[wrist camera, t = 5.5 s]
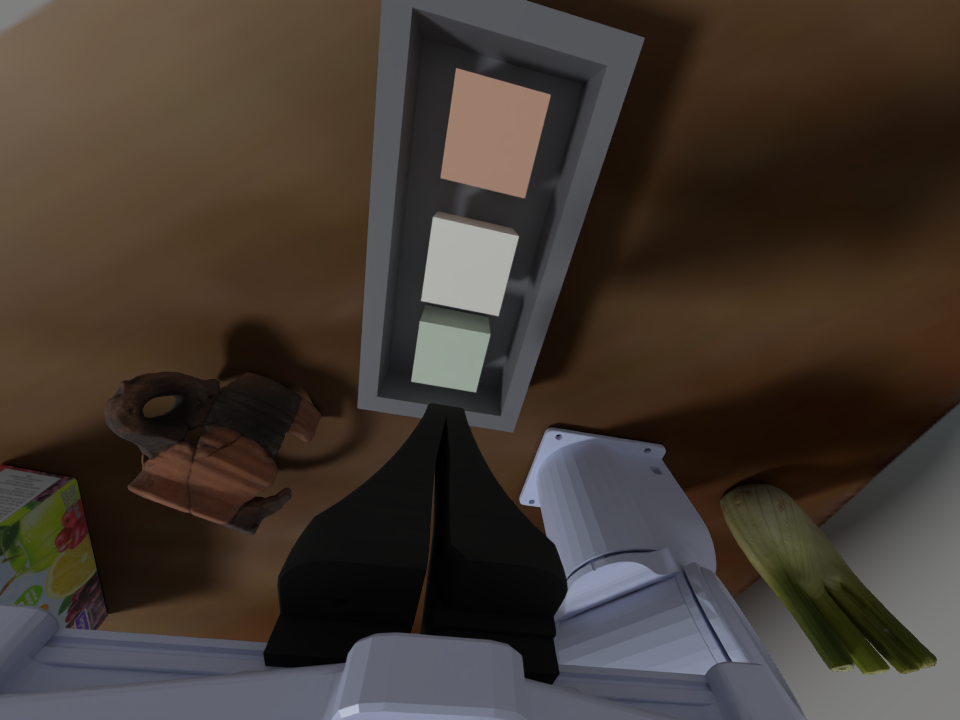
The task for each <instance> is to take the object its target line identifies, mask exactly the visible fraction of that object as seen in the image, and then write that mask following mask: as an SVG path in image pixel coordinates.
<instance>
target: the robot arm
mask: <svg viewBox="0 0 960 720" xmlns="http://www.w3.org/2000/svg"><path fill="white" fill-rule="evenodd" d="M558 434H561V435H560V436H556V435H558ZM647 448H648V449H647ZM645 449H646V450H645ZM665 453H666V449H665V448H664V446H663V445H660V444H654V443H647V442H641V441H635V440H628V439H622V438H616V437H609V436H603V435H597V434H590V433H584V432H578V431H572V430H565V429H559V428H548V429H547V430H546V431H545V433H544V436H543V438H542V441H541V443H540V446H539V448H538V451H537V454H536V456H535V459H534V461H533V464H532V466H531V469H530V472H529V474H528V477H527V479H526V482H525V484H524V487H523V490H522V492H521V495H520V498H519V499H520V503H521V504H523V505H529V506H537V507H541V512H542V516H543V521H544V526H545V531H546V535H547V537H546V536H545V535H544V534H543V533H542V532H541V531H540V530H539V529H538V528H537V527H535V526H534V525H533V524H532V523H531V522H530V521H529V519H528V518H527V517H526V516H525V515H524V514H523V513H522V512H521V511H520V510H519V509H518V507H517V506H516V505H515V504H514V503H513V501H512V500H511V499H510V498H509V497H508V495H507V494H506V493H505V491H504V490H503V488H502V487H501V486H500V484H499V483H498V481H497V480H496V478H495V477H494V475H493V474H492V472H491V470H490V469H489V467H488V465H487V464H486V462H485V460H484V458H483V456H482V454H481V452H480V450H479V448H478V446H477V444H476V441H475V439H474V437H473V434H472V432H471V429H470V427H469V424H468V421H467V418H466V414H465V411H464V409H463V408H460V407H454V406H448V405H441V404H435V403H430V404H428V406H427V409H426V411H425V413H424V415H423V417H422V419H421V420H420V422H419V424H418V425H417V427H416V428H415V430H414V431H413V432H412V434H411V435H410V437H409V438H408V439H407V440H406V442H405V443H404V444H403V445H402V447H401V448H400V449H399V450H398V451H397V452H396V454H395V455H394V456H393V457H392V458H391V459H390V460H389V461H388V462H387V463H386V464H385V465H384V466H383V467H382V468H381V469H380V470H379V471H377V472H376V473H375V474H374V475H373V476H372V477H371V478H370V479H368V480H367V481H366V482H365V483H364V484H362V485H361V486H360V487H358V488H357V489H356V490H354V491H353V492H352V493H350V494H349V495H348V496H346V497H345V498H344V499H342V500H341V501H339V502H338V503H336V504H334V505H333V506H331V507H330V508H328V509H326V510H325V511H323V512H322V513H320V514H318V515H317V516H315V517H314V518H313V519H312V521H311V522H310V523H309V525H308V526H307V527H306V529H305V530H304V531H303V533H302V534H301V536H300V537H299V539H298V540H297V542H296V543H295V545H294V547H293V548H292V550H291V552H290V553H289V555H288V558H287V560H286V562H285V564H284V566H283V568H282V570H281V572H280V574H279V577H278V584H277V586H278V595H279V605H280V616H279V618H278V620H277V622H276V625H275V627H274V629H273V632H272V634H271V636H270V638H269V641H268V643H263V642H249V641H236V640H222V639H208V638H195V637H181V636H168V635H154V634H140V633H127V632H113V631H100V630H86V629H72V628H59V625H58V622H57V619H56V618H55V616H54V615H53V614H52V613H51V612H50V611H48V610H45V609H43V608H40V607H35V606H27V605H15V604H2V603H0V720H807V719H806V718H805V715H804V713H803V711H802V709H801V707H800V705H799V704H798V702H797V700H796V698H795V696H794V695H793V693H792V691H791V690H790V688H789V686H788V684H787V683H786V681H785V679H784V678H783V676H782V674H781V673H780V671H779V669H778V668H777V666H776V664H775V663H774V661H773V660H772V658H771V656H770V655H769V653H768V652H767V650H766V648H765V647H764V645H763V644H762V642H761V640H760V639H759V637H758V636H757V634H756V633H755V631H754V630H753V628H752V626H751V625H750V623H749V622H748V620H747V619H746V617H745V616H744V614H743V613H742V611H741V610H740V608H739V607H738V605H737V604H736V602H735V601H734V599H733V598H732V596H731V595H730V593H729V592H728V590H727V589H726V588H725V586H724V585H723V583H722V582H721V581H720V579H719V578H718V577H717V575H716V574H715V572H716V556H715V551H714V546H713V542H712V539H711V536H710V533H709V531H708V529H707V527H706V525H705V523H704V522H703V520H702V519H701V517H700V516H699V514H698V513H697V511H696V510H695V508H694V507H693V505H692V504H691V502H690V501H689V499H688V498H687V496H686V495H685V493H684V492H683V490H682V489H681V487H680V486H679V484H678V483H677V481H676V480H675V478H674V477H673V475H672V474H671V472H670V471H669V469H668V468H667V466H666V465H665V463H664V462H663V460H662V458H663V456H664V455H665ZM434 474H435V491H434V524H433V537H432V545H431V553H430V561H429V569H428V577H427V585H426V593H425V600H424V608H423V616H422V623H421V631H420V634H410V633H411V629H412V626H413V624H414V619H415V615H416V611H417V607H418V603H419V599H420V594H421V590H422V586H423V582H424V578H425V574H426V569H427V562H428V553H429V543H430V524H431V509H432V496H433V485H434Z"/></svg>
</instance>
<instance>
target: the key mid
mask: <svg viewBox="0 0 960 720" xmlns="http://www.w3.org/2000/svg"><path fill="white" fill-rule="evenodd" d="M518 238H519V236H518V234H517V233H516V232H515V231H514V229H513V228H509V227H505V226H500V225H496V224H492V223H487V222H483V221H478V220H474V219H470V218H465V217H461V216H457V215H452V214H448V213H444V212H439V211H438V212H437V213H436V214H435V215H434V216H433V220H432V227H431V234H430V241H429V248H428V255H427V262H426V269H425V276H424V284H423V291H422V298H421V301H424V302H429V303H434V304H439V305H444V306H449V307H454V308H460V309H465V310H470V311H475V312H480V313H485V314H490V315H495V316H499V312H500V309H501V305H502V301H503V297H504V293H505V289H506V285H507V281H508V277H509V273H510V270H511V266H512V262H513V258H514V254H515V250H516V246H517V242H518Z"/></svg>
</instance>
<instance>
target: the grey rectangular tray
mask: <svg viewBox="0 0 960 720" xmlns="http://www.w3.org/2000/svg"><path fill="white" fill-rule="evenodd" d="M644 39H645V38H644V37H641V36H638V35H635V34H631V33H628V32H625V31H622V30H619V29H616V28H612V27H609V26H606V25H603V24H600V23H596V22H593V21H590V20H587V19H584V18H581V17H577V16H574V15H571V14H568V13H565V12H562V11H558V10H555V9H552V8H549V7H546V6H542V5H539V4H536V3H533V2H530V1H527V0H382V7H381V24H380V40H379V57H378V74H377V90H376V107H375V124H374V140H373V157H372V174H371V190H370V207H369V224H368V240H367V257H366V274H365V290H364V307H363V324H362V340H361V357H360V374H359V390H358V407H357V408H359V409H365V410H371V411H378V412H384V413H391V414H397V415H404V416H410V417H417V418H422V417H423V415H424V413H425V411H426V409H427V406H428V404H430V403H435V404H441V405H448V406H454V407H460V408H463V409H464V411H465V414H466V418H467V421H468V424H469V426H475V427H481V428H488V429H494V430H501V431H507V432H513V431H514V428H515V425H516V422H517V419H518V416H519V413H520V410H521V407H522V404H523V401H524V398H525V395H526V392H527V389H528V386H529V383H530V380H531V377H532V374H533V371H534V368H535V365H536V362H537V359H538V356H539V353H540V350H541V347H542V344H543V341H544V338H545V336H546V333H547V330H548V327H549V324H550V321H551V318H552V315H553V312H554V309H555V306H556V303H557V300H558V297H559V294H560V291H561V288H562V285H563V282H564V279H565V276H566V273H567V270H568V267H569V264H570V261H571V258H572V255H573V252H574V249H575V246H576V243H577V240H578V237H579V234H580V231H581V228H582V225H583V222H584V219H585V216H586V213H587V210H588V207H589V204H590V201H591V198H592V195H593V192H594V189H595V186H596V183H597V180H598V177H599V174H600V171H601V168H602V165H603V162H604V159H605V156H606V153H607V150H608V147H609V144H610V141H611V138H612V135H613V132H614V129H615V126H616V123H617V120H618V117H619V114H620V111H621V108H622V105H623V102H624V99H625V96H626V93H627V90H628V87H629V84H630V81H631V78H632V75H633V72H634V69H635V66H636V63H637V60H638V57H639V54H640V51H641V48H642V45H643V42H644ZM456 68H458V69H461V70H465V71H468V72H472V73H476V74H479V75H483V76H486V77H490V78H493V79H497V80H500V81H504V82H507V83H511V84H514V85H518V86H522V87H525V88H529V89H532V90H536V91H539V92H543V93H546V94H550V95H551V97H550V100H549V104H548V108H547V112H546V116H545V120H544V124H543V128H542V132H541V136H540V140H539V144H538V148H537V152H536V156H535V160H534V164H533V168H532V172H531V176H530V180H529V184H528V188H527V192H526V196H525V198H521V197H516V196H512V195H508V194H504V193H500V192H496V191H492V190H488V189H483V188H479V187H475V186H471V185H467V184H463V183H459V182H454V181H450V180H446V179H442V178H440V177H441V170H442V163H443V156H444V149H445V142H446V135H447V128H448V121H449V114H450V107H451V100H452V93H453V87H454V80H455V73H456ZM438 211H439V212H444V213H448V214H452V215H457V216H461V217H465V218H470V219H474V220H478V221H483V222H487V223H492V224H496V225H500V226H505V227H509V228H513V229H514V231H515V232H516V233H517V234H518V236H519V238H518V242H517V246H516V250H515V254H514V258H513V262H512V266H511V270H510V273H509V277H508V281H507V285H506V289H505V293H504V297H503V301H502V305H501V309H500V312H499V316H495V315H490V314H485V313H480V312H475V311H470V310H465V309H460V308H454V307H449V306H444V305H439V304H434V303H429V302H424V301H421V298H422V291H423V284H424V276H425V269H426V262H427V255H428V248H429V241H430V234H431V227H432V220H433V216H434V215H435V214H436V213H437V212H438ZM425 305H429V306H434V307H439V308H444V309H449V310H454V311H460V312H465V313H470V314H475V315H480V316H485V317H488V318H489V326H490V334H491V335H490V339H489V343H488V347H487V351H486V355H485V359H484V363H483V367H482V371H481V374H480V378H479V382H478V386H477V390H476V392H470V391H464V390H458V389H452V388H446V387H440V386H434V385H428V384H422V383H416V382H411V379H412V372H413V365H414V358H415V351H416V344H417V337H418V330H419V323H420V319H421V316H422V313H423V310H424V308H425Z"/></svg>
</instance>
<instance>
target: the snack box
mask: <svg viewBox="0 0 960 720" xmlns="http://www.w3.org/2000/svg"><path fill="white" fill-rule="evenodd" d="M0 603H2V604H15V605H27V606H35V607H40V608H43V609H45V610H48V611H50V612H51V613H52V614H53V615H54V616H55V618H56V619H57V622H58V625H59V628H72V629H86V630H97V629H98V627H99V626H100V625H101V624H102V622H103V621H104V620H105V618H106V617H107V616H108V614H107V610H106V606H105V602H104V598H103V594H102V589H101V585H100V581H99V576H98V572H97V568H96V563H95V559H94V554H93V550H92V546H91V541H90V537H89V532H88V528H87V523H86V519H85V514H84V510H83V505H82V501H81V496H80V492H79V487H78V483H77V480H76V479H75V478H74V477H67V476H61V475H56V474H50V473H44V472H39V471H33V470H28V469H23V468H17V467H12V466H6V465H1V464H0Z"/></svg>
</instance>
